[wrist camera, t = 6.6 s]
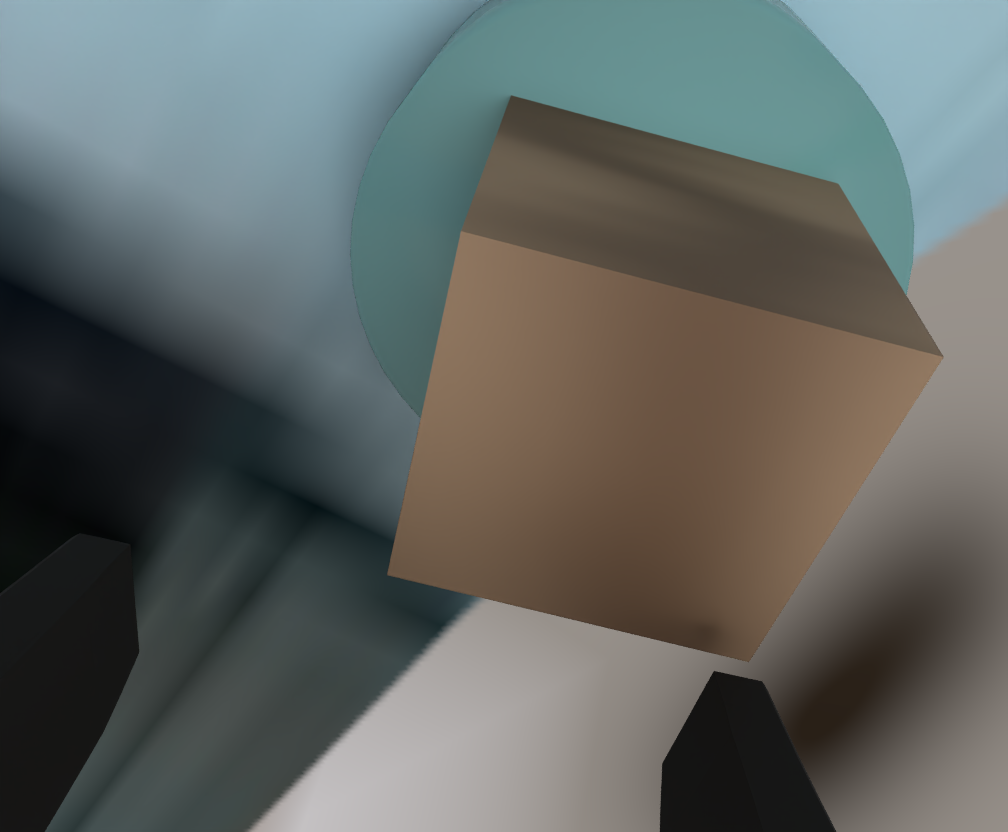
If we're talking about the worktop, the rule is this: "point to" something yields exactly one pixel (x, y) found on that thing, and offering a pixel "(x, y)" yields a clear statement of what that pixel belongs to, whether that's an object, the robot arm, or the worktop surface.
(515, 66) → the teal puck
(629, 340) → the walnut cube
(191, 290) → the worktop surface
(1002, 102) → the worktop surface
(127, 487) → the worktop surface
